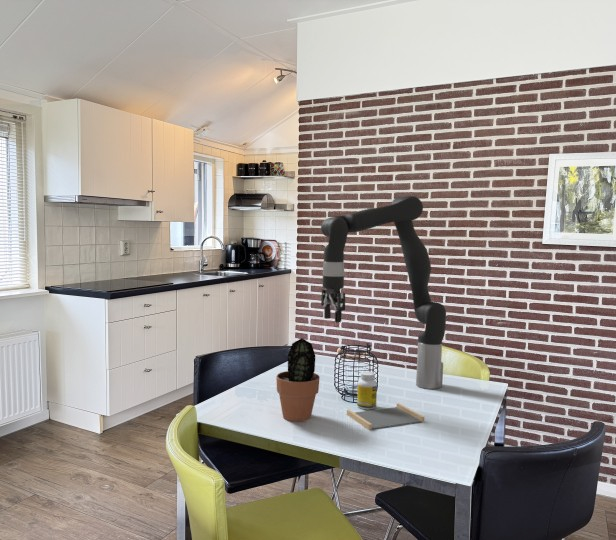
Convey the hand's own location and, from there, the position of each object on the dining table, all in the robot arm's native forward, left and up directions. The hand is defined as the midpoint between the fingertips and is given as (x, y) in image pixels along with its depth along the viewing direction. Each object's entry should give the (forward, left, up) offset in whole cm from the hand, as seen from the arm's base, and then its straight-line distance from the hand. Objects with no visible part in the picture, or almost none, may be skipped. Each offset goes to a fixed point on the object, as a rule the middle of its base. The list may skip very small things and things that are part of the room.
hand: (332, 320), depth 181 cm
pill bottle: (-7, +13, -28) cm, 32 cm away
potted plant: (+19, +14, -28) cm, 37 cm away
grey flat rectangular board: (-7, +25, -28) cm, 38 cm away
